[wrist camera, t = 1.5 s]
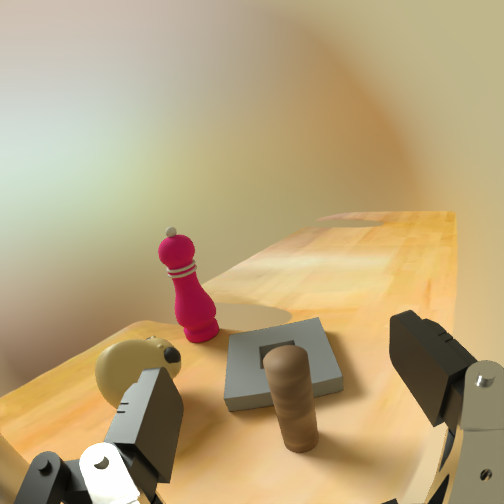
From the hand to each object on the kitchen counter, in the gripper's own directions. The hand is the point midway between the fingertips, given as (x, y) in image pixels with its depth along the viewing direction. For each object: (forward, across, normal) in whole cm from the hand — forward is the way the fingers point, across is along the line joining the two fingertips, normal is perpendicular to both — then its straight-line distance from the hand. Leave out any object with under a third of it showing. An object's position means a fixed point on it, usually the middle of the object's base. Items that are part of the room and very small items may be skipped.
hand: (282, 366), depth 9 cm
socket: (+24, +1, +20) cm, 31 cm away
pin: (+11, 0, +20) cm, 23 cm away
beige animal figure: (+20, +19, +20) cm, 34 cm away
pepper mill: (+37, +13, +20) cm, 44 cm away
